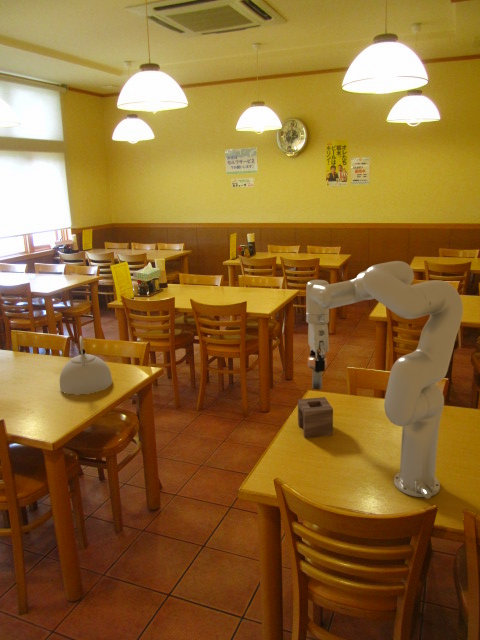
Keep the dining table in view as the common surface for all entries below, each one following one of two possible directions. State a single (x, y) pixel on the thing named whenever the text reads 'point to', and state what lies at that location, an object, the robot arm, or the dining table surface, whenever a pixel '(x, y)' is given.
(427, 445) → the robot arm
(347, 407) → the dining table surface
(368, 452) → the dining table surface
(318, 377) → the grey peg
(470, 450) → the dining table surface
